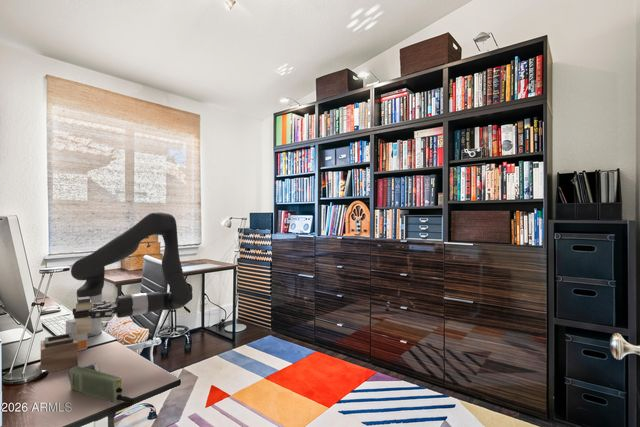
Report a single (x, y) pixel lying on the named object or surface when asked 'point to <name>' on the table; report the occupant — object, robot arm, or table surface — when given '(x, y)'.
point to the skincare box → (80, 338)
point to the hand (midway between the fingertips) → (73, 313)
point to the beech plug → (84, 323)
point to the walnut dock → (59, 352)
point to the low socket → (89, 367)
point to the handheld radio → (98, 384)
